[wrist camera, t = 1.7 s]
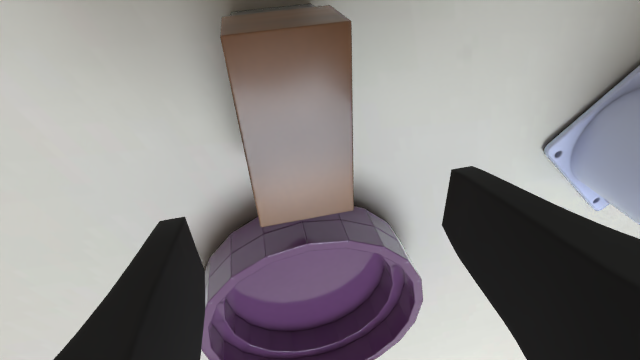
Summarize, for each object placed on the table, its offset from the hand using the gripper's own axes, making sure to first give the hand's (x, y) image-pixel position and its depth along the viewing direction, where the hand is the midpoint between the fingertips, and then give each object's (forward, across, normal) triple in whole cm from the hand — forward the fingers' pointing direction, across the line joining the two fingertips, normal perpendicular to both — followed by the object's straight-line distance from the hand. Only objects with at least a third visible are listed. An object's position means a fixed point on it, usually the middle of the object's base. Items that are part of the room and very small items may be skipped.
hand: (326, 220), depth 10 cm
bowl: (+10, 0, +14) cm, 17 cm away
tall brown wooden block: (+10, 0, 0) cm, 10 cm away
